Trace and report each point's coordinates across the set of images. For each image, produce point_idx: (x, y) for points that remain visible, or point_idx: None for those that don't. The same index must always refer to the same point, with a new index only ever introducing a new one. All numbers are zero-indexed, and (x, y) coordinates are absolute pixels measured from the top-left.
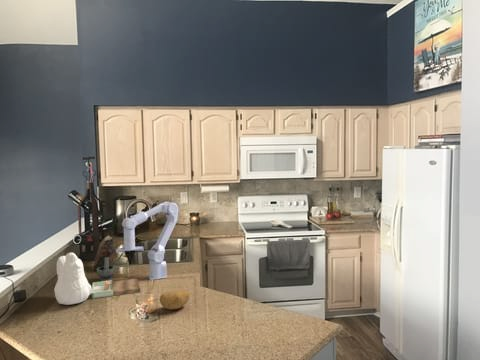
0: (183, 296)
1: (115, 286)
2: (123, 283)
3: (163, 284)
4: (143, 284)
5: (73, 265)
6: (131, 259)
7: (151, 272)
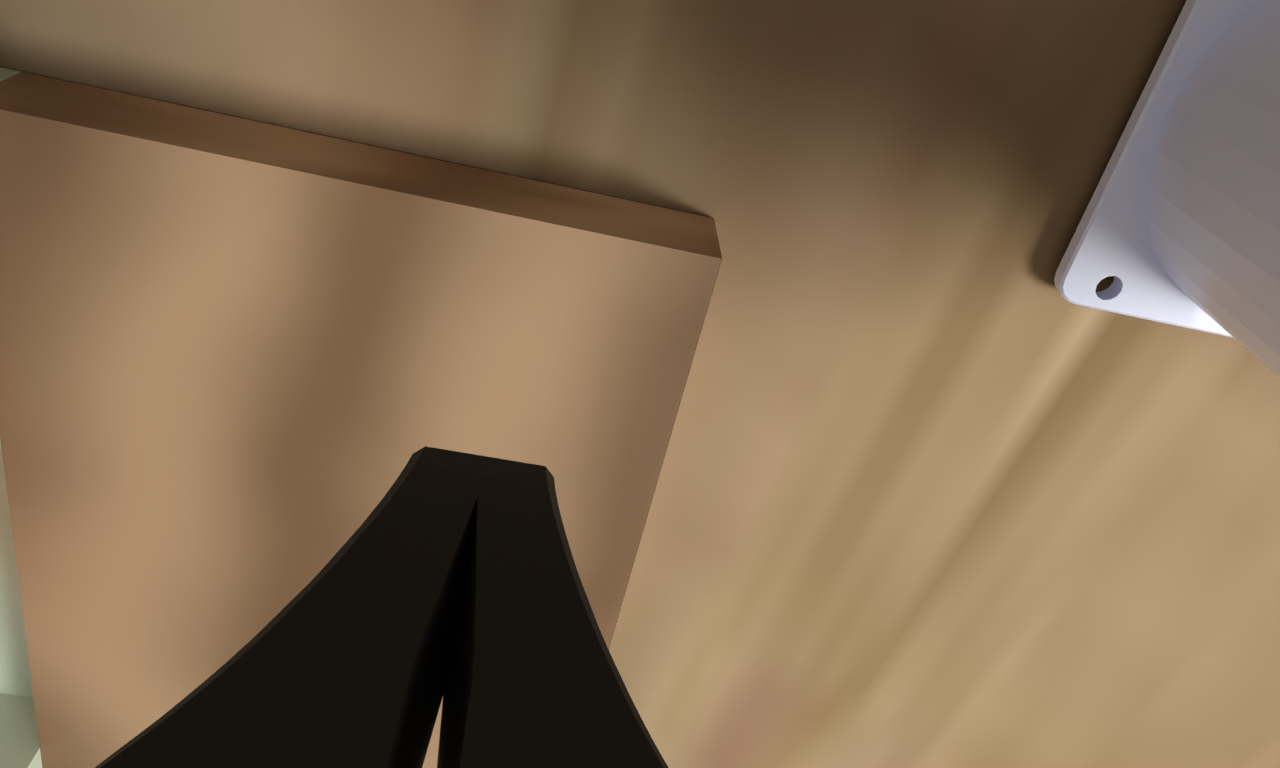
0: None
1: (74, 521)
2: (283, 432)
3: (1086, 665)
4: (770, 460)
5: None
6: None
7: (1235, 297)
